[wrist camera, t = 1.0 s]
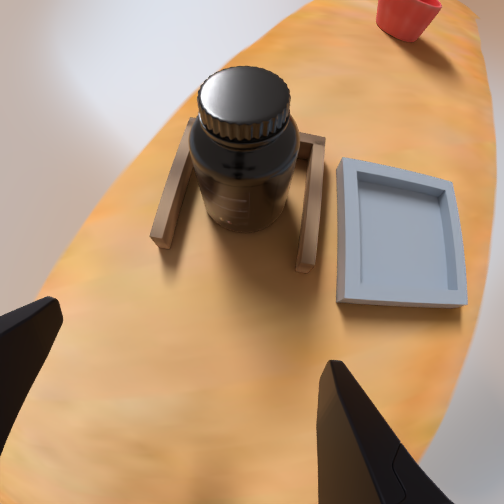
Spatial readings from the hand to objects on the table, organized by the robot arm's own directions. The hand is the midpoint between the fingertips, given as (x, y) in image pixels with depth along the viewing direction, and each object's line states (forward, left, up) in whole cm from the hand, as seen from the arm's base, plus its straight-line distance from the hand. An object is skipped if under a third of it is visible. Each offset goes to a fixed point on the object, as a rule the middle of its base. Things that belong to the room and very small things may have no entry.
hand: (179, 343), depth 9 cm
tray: (+10, -15, -13) cm, 22 cm away
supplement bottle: (+12, -1, -14) cm, 18 cm away
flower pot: (+50, -23, -14) cm, 57 cm away
